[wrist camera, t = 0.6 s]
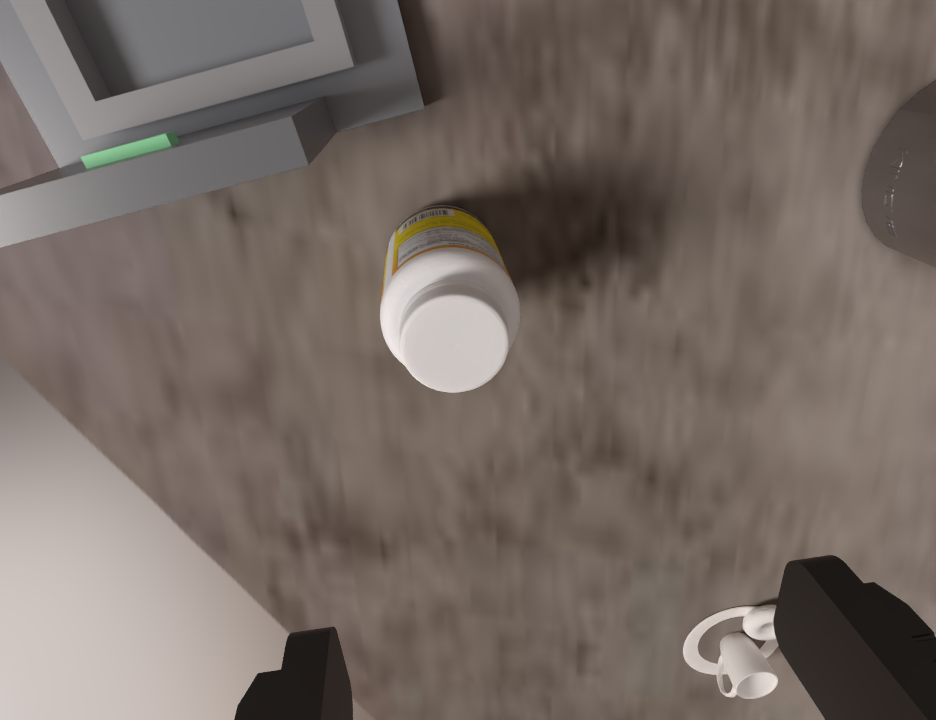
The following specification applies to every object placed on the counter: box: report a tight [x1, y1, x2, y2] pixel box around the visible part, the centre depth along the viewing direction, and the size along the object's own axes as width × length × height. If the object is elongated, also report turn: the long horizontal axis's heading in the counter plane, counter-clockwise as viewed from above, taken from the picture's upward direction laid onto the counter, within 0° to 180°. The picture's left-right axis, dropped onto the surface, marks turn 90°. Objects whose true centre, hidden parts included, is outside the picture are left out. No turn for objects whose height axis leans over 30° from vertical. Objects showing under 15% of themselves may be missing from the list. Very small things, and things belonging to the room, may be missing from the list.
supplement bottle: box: [380, 205, 520, 393], centre depth 26 cm, size 6×6×10 cm
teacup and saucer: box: [683, 605, 779, 699], centre depth 45 cm, size 9×8×4 cm
